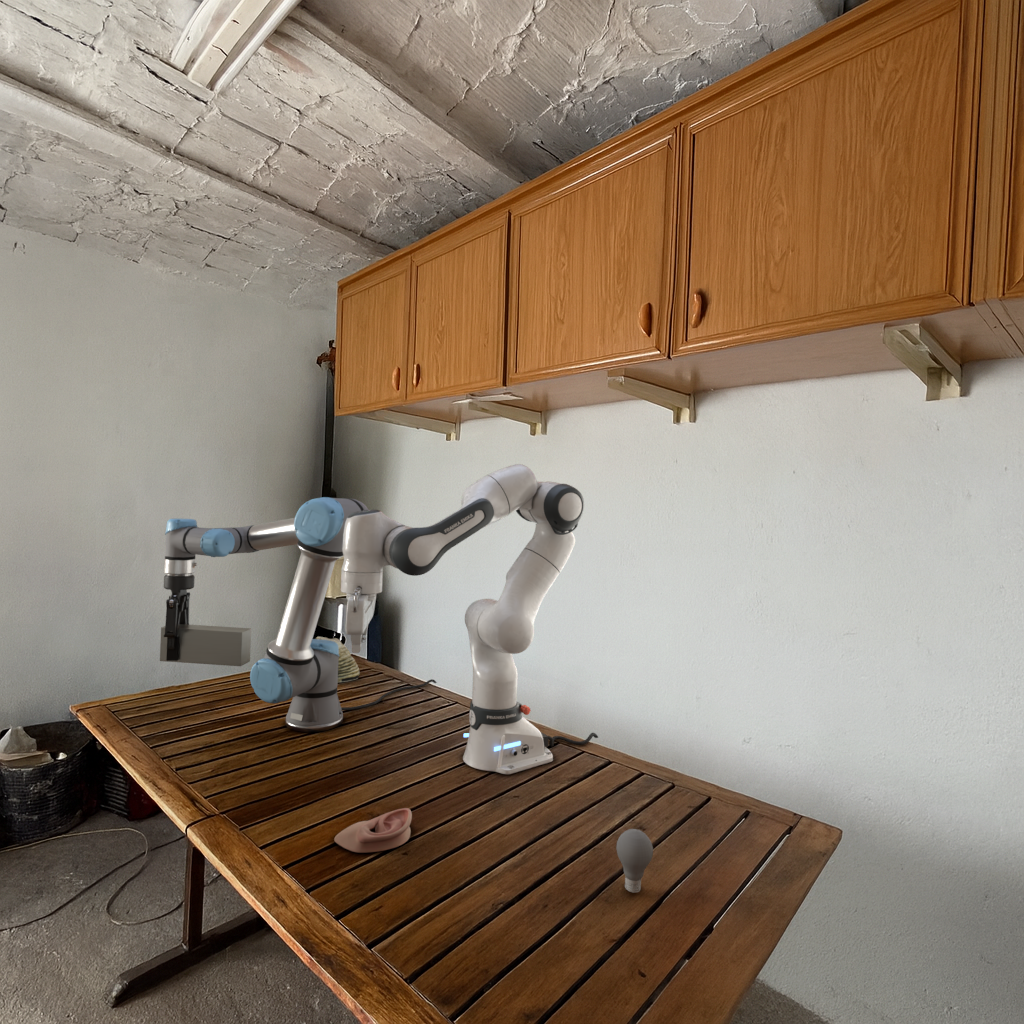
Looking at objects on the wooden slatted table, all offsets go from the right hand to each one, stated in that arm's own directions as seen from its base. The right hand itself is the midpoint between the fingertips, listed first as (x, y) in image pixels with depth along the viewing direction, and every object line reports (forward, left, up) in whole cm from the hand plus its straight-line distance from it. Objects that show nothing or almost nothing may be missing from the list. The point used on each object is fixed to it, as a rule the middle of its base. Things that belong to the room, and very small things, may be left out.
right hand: (359, 646), depth 138 cm
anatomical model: (+1, +22, -31) cm, 38 cm away
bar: (+28, -56, -15) cm, 65 cm away
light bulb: (-34, +55, -31) cm, 71 cm away
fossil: (-12, -81, -31) cm, 88 cm away
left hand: (+36, -60, -14) cm, 71 cm away
